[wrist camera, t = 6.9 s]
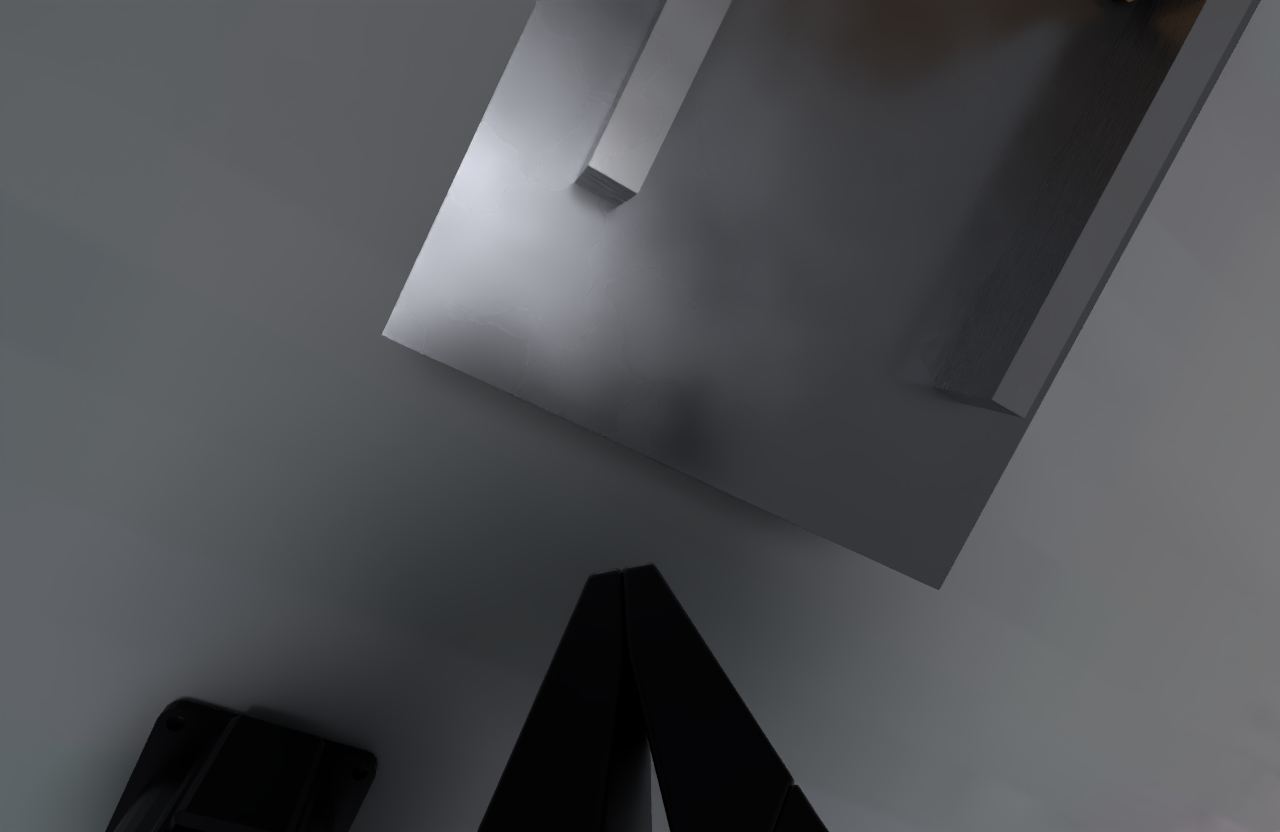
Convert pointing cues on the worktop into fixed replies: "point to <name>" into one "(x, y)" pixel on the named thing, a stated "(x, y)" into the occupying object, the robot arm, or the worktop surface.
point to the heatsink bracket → (810, 235)
